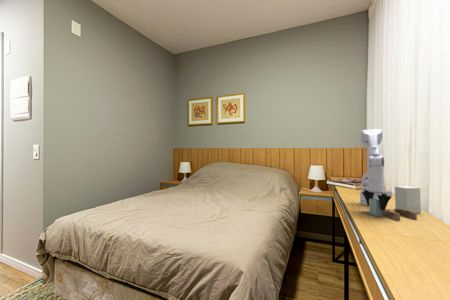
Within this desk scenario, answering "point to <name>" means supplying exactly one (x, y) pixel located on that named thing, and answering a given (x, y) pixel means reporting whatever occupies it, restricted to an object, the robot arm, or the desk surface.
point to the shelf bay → (399, 212)
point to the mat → (372, 214)
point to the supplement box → (407, 198)
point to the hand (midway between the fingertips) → (376, 207)
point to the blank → (375, 207)
